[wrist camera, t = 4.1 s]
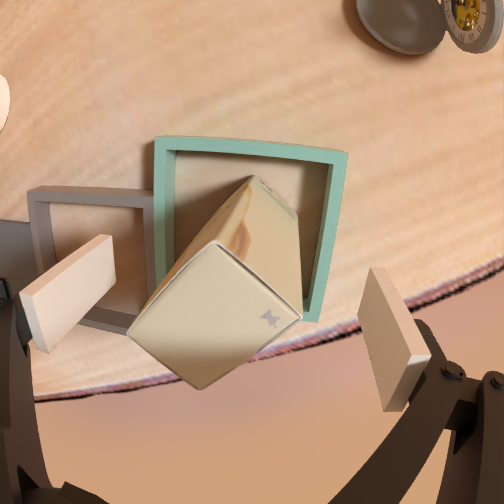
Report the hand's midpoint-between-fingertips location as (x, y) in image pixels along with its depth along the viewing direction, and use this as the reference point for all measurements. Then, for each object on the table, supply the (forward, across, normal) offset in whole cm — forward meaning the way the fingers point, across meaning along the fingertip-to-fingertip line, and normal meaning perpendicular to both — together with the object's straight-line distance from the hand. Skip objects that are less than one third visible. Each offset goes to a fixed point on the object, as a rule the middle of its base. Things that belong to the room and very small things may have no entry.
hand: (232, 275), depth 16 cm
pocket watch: (+8, +10, +17) cm, 21 cm away
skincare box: (+8, 0, 0) cm, 8 cm away
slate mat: (+7, -23, -6) cm, 25 cm away
